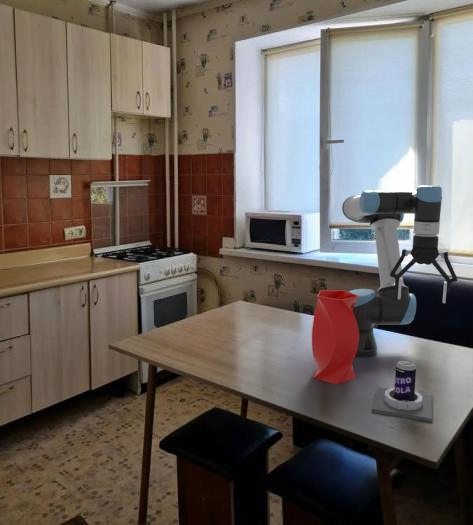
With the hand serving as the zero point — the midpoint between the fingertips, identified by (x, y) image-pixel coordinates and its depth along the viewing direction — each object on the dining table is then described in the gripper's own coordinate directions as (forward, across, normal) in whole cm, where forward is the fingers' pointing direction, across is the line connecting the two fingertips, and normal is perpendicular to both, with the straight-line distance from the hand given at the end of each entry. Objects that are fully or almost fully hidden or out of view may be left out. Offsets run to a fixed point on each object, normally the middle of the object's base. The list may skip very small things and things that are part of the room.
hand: (421, 300), depth 163 cm
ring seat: (+27, -3, -22) cm, 35 cm away
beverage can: (+26, -3, -22) cm, 34 cm away
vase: (+27, -25, -8) cm, 38 cm away
